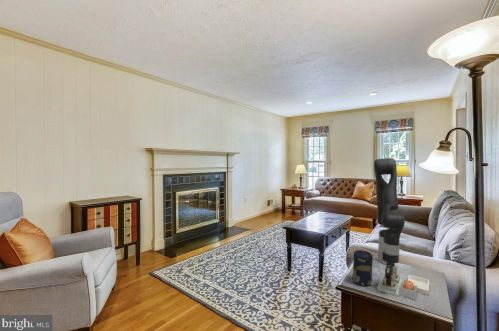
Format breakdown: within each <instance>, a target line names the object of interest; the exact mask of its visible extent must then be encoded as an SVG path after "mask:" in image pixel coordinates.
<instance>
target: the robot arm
mask: <svg viewBox="0 0 499 331" xmlns="http://www.w3.org/2000/svg"><path fill="white" fill-rule="evenodd" d="M373 169H374V170H373V171H374V176H375V184H376V186H375V189H376V190H375V191H376V192H375V194H376V204H377V216H376V217H377V218H376V220H377V223H378V225H380V226H383V227H385V228H386V229H381V230H379V232H378V246H377V247H378V249H377V261H378V262H379V263H381V264H384V267H385V270H384V274H385V278H386V285H388V286H391V279H392V275H393V271H394V267H395V265H396V264H398V263H399V262H400V238H401V234H402V231H403V228H404V227H405V223H406V222H405V218H404V216H403V215H402V214H398V213H397V214H396V213H395V212H394V211H396V210H398V209H399V201H398V192H397V191H398V189H397V187H398V186H397V185H398V178H397V176H398V171H397V170H398V169H397V162H396V160H395V158H392V157H389V158H376V159H375V160H374V161H373ZM383 175H385V176H386V175H390V178H389V181H388V182H387V181H386V180H385V179H384V178H383ZM392 211H393V212H392ZM391 272H392V273H391ZM387 275H388V276H387Z"/></svg>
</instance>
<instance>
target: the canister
mask: <svg viewBox="0 0 499 331" xmlns="http://www.w3.org/2000/svg"><path fill="white" fill-rule="evenodd" d="M352 264H353V266H352V280H353V282H354V283H355V284H357V285H360V286H363V287H364V286H365V287H367V286H370V285H372V282H373V281H372V280H373V254H372V253H371V252H369V251H367V250H362V249H357V250H354V252H353V262H352Z"/></svg>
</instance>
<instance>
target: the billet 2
mask: <svg viewBox="0 0 499 331" xmlns="http://www.w3.org/2000/svg"><path fill="white" fill-rule="evenodd" d="M394 271H395V276H394V279H397V275H398V264H395V267H394Z"/></svg>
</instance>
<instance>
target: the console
mask: <svg viewBox="0 0 499 331" xmlns="http://www.w3.org/2000/svg"><path fill="white" fill-rule="evenodd" d="M417 295H418V292H417V286H413V290H411V289H407V288H404V281H403V282H401V285H400V293H399V296H401V297H404V298H408V299H411V300H413V301H416V300H417V297H418V296H417Z"/></svg>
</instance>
